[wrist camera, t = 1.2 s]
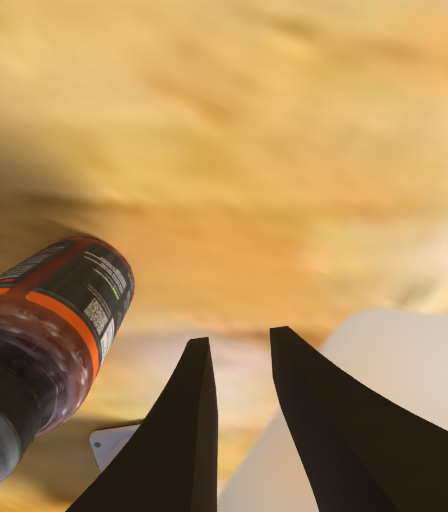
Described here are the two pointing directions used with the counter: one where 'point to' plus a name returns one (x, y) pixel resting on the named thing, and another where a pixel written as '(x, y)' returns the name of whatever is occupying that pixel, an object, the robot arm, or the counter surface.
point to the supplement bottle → (55, 336)
